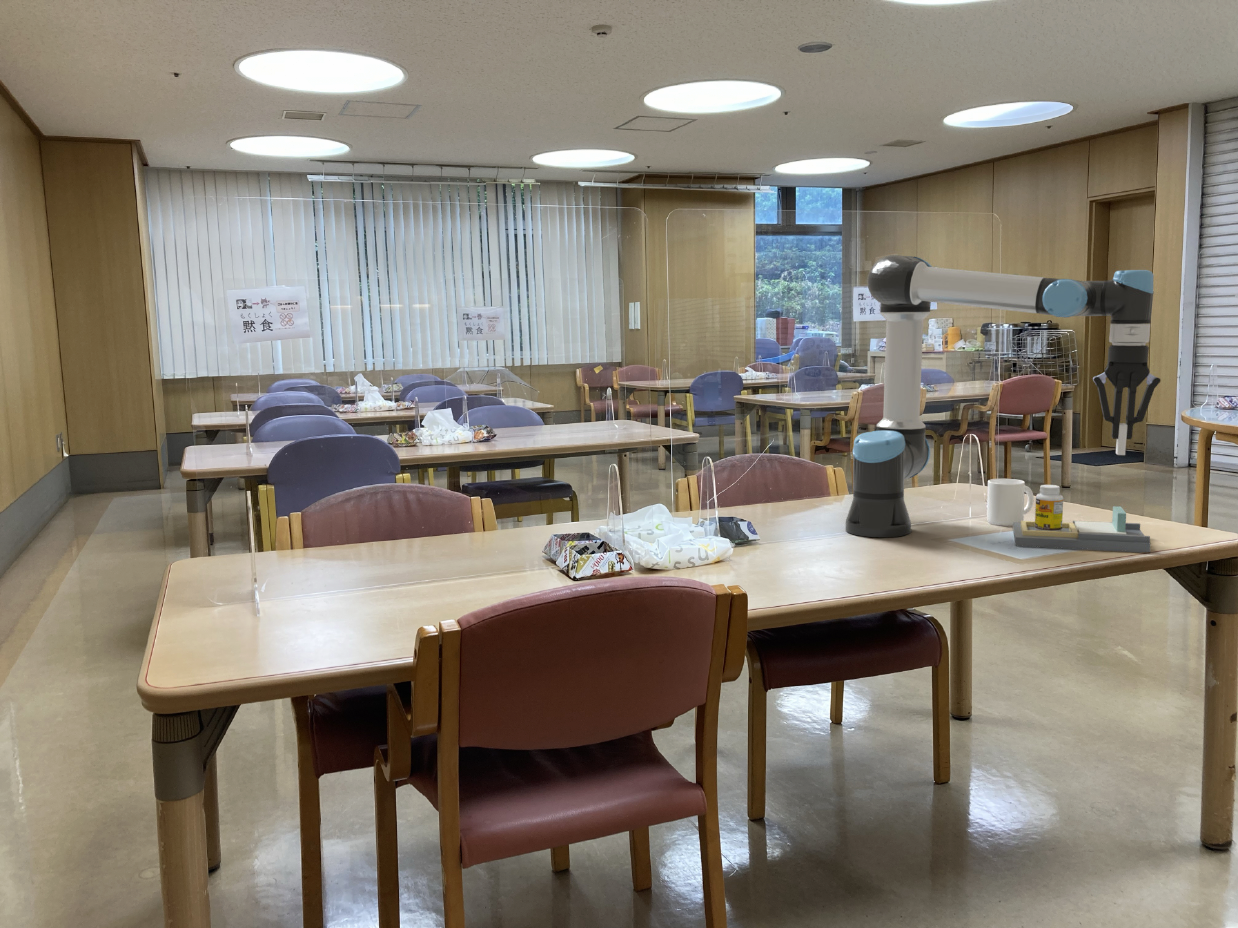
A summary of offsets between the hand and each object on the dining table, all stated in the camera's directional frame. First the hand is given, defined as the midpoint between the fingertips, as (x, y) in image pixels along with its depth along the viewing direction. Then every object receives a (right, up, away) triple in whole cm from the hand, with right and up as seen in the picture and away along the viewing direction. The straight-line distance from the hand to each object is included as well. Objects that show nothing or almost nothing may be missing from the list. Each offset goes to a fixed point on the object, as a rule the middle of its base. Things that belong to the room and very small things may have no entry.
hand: (1120, 454), depth 204 cm
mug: (-12, -17, +27) cm, 34 cm away
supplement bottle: (-12, -17, +7) cm, 22 cm away
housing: (-8, -19, +6) cm, 22 cm away
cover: (-3, -17, +4) cm, 18 cm away
